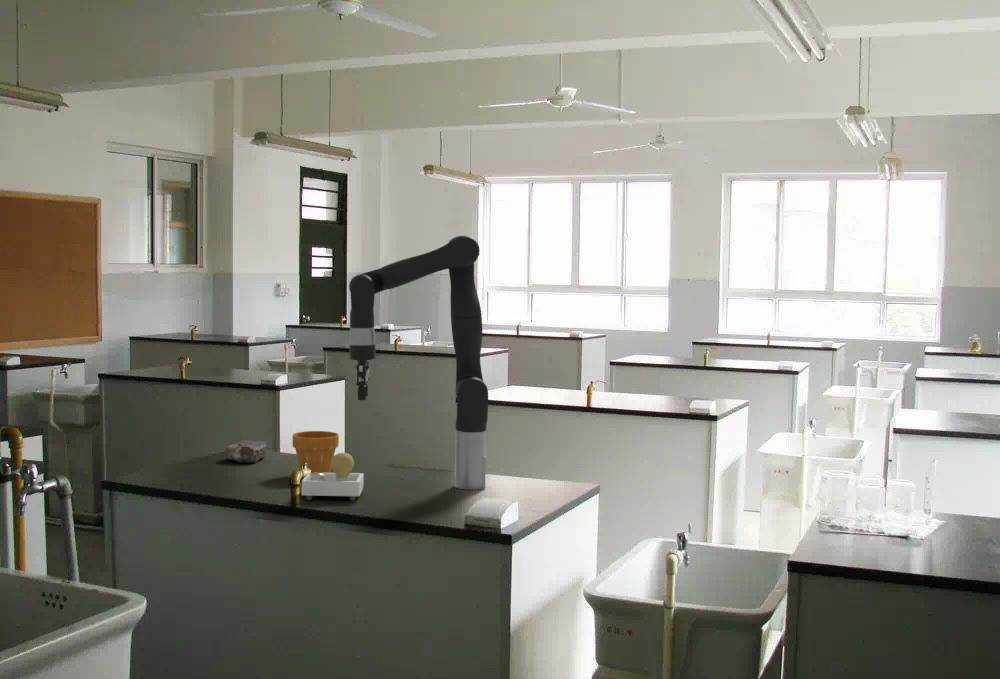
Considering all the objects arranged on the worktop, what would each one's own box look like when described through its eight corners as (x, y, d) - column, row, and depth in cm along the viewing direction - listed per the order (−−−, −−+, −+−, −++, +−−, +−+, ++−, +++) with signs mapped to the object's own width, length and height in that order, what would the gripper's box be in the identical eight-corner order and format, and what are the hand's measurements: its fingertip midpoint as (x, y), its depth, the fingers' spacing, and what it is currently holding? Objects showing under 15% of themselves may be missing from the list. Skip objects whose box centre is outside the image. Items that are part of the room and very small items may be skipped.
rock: (241, 455, 344) (218, 464, 329) (240, 437, 343) (218, 445, 329) (274, 457, 341) (253, 466, 326) (274, 438, 340) (253, 446, 326)
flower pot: (310, 469, 322) (310, 429, 321) (347, 474, 315) (347, 433, 315) (282, 477, 309) (283, 435, 308) (320, 482, 303) (320, 439, 302)
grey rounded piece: (325, 486, 286) (325, 472, 286) (323, 489, 282) (323, 475, 282) (311, 485, 286) (311, 472, 286) (309, 488, 282) (309, 474, 282)
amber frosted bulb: (349, 490, 281) (349, 455, 280) (327, 489, 282) (328, 454, 282) (356, 485, 287) (357, 451, 287) (335, 484, 289) (336, 450, 288)
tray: (363, 492, 291) (363, 473, 291) (359, 501, 279) (359, 482, 279) (308, 491, 290) (308, 472, 290) (301, 500, 278) (301, 481, 278)
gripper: (373, 345, 285) (374, 401, 286) (376, 341, 299) (377, 395, 300) (347, 345, 284) (348, 401, 286) (351, 341, 299) (352, 395, 300)
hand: (363, 398), depth 293 cm, fingers open, 8 cm apart
